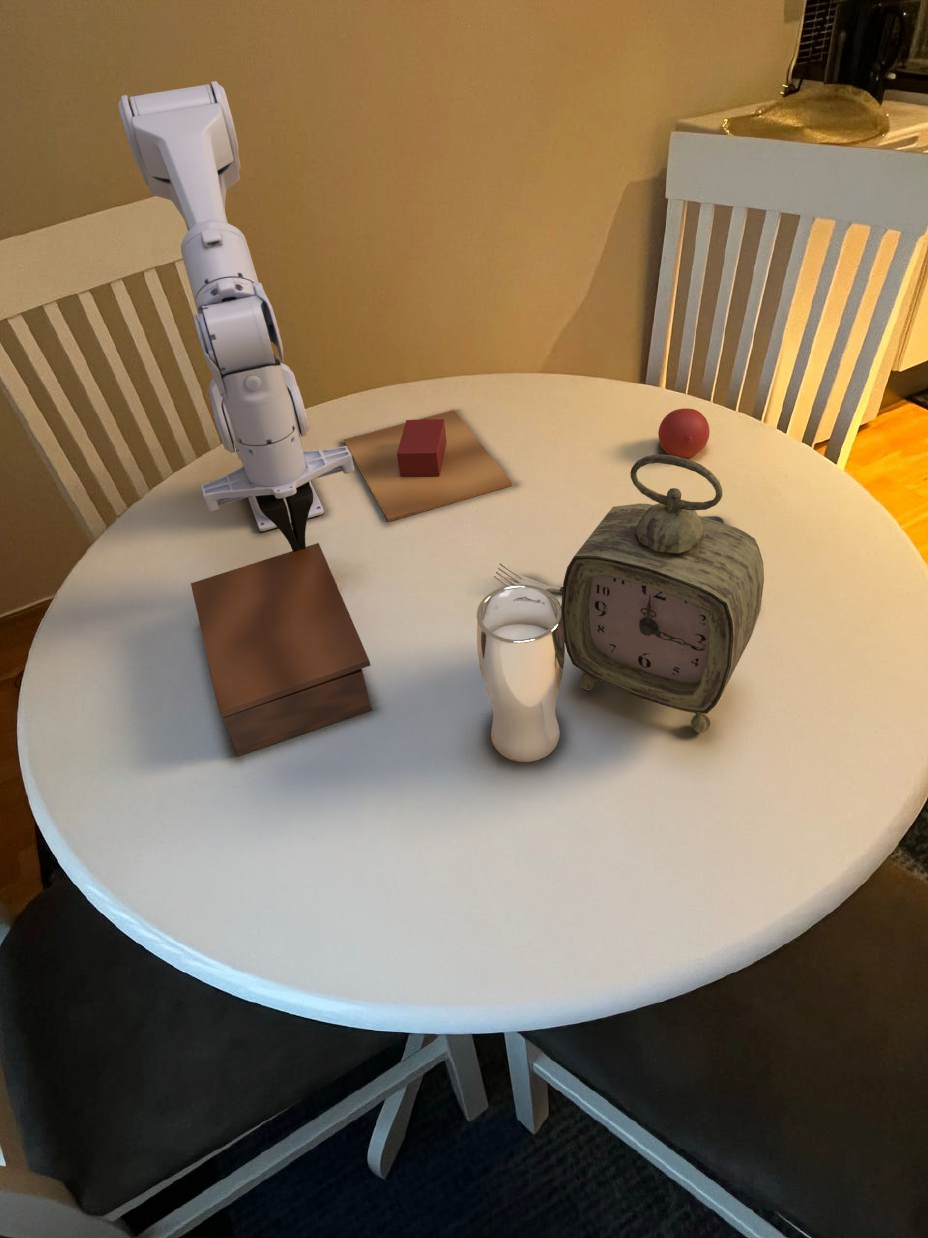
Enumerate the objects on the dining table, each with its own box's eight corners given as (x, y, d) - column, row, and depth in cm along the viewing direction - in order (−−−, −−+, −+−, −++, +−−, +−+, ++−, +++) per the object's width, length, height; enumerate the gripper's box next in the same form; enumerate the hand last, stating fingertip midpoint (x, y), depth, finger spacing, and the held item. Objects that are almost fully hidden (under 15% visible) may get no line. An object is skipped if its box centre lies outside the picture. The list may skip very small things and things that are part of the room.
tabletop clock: (561, 693, 77) (560, 463, 60) (602, 632, 82) (613, 405, 65) (713, 752, 71) (761, 515, 54) (747, 682, 76) (801, 446, 59)
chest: (323, 591, 90) (313, 553, 87) (372, 710, 78) (362, 671, 74) (208, 626, 88) (193, 589, 84) (238, 756, 75) (222, 718, 71)
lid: (320, 548, 87) (318, 542, 86) (370, 665, 74) (369, 659, 73) (193, 588, 84) (190, 583, 84) (222, 718, 71) (219, 712, 71)
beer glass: (541, 779, 70) (537, 656, 60) (471, 747, 73) (456, 625, 63) (578, 722, 74) (580, 598, 64) (510, 695, 77) (502, 572, 67)
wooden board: (344, 442, 113) (343, 439, 112) (454, 412, 116) (454, 409, 116) (388, 522, 99) (387, 518, 98) (511, 485, 102) (511, 482, 102)
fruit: (656, 470, 105) (662, 439, 98) (656, 429, 107) (662, 396, 99) (706, 470, 105) (716, 439, 97) (705, 429, 106) (715, 395, 99)
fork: (646, 613, 84) (647, 598, 82) (494, 591, 88) (493, 577, 87) (649, 596, 86) (651, 581, 84) (500, 575, 90) (499, 561, 89)
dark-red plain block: (400, 477, 105) (396, 453, 102) (409, 442, 110) (406, 419, 108) (439, 476, 104) (436, 452, 101) (446, 442, 110) (444, 418, 107)
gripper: (193, 472, 73) (235, 588, 82) (352, 429, 76) (375, 546, 85) (182, 434, 78) (223, 548, 87) (332, 395, 81) (356, 509, 90)
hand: (297, 544), depth 86 cm, fingers closed, pressing on lid
